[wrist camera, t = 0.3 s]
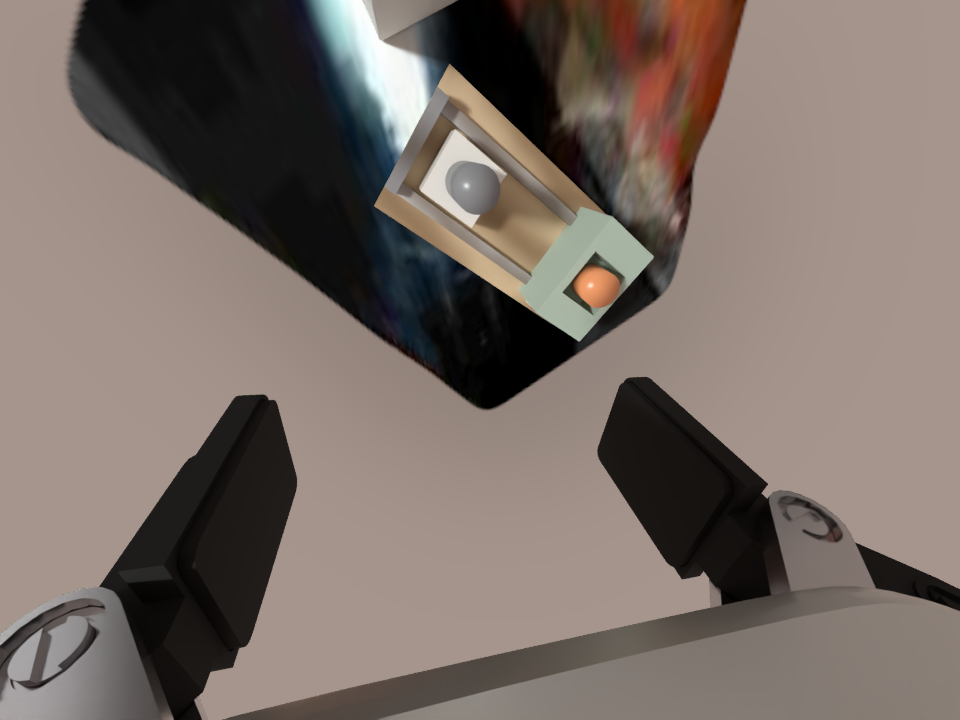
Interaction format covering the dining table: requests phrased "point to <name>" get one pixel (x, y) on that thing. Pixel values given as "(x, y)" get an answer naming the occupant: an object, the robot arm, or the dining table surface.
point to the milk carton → (400, 13)
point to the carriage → (463, 179)
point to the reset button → (595, 285)
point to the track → (523, 192)
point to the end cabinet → (565, 258)
